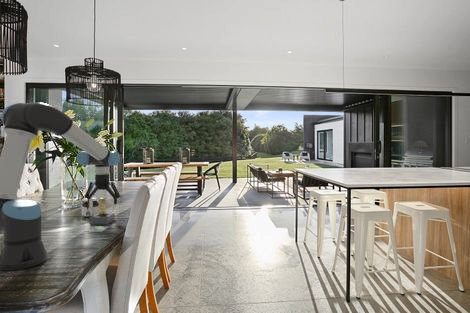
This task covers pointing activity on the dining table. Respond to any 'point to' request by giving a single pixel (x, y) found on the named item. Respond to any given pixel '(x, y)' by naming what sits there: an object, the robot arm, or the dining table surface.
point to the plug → (102, 206)
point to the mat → (96, 229)
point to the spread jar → (85, 208)
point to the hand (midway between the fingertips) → (102, 209)
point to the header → (102, 218)
